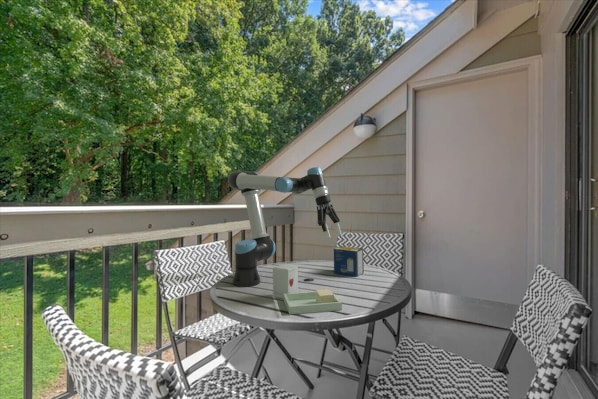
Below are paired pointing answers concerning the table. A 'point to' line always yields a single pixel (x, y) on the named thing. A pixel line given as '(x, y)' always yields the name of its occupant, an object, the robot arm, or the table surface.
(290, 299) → the green tray
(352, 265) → the protein box
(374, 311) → the table surface
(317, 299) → the tan rectangular block
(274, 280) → the supplement box
